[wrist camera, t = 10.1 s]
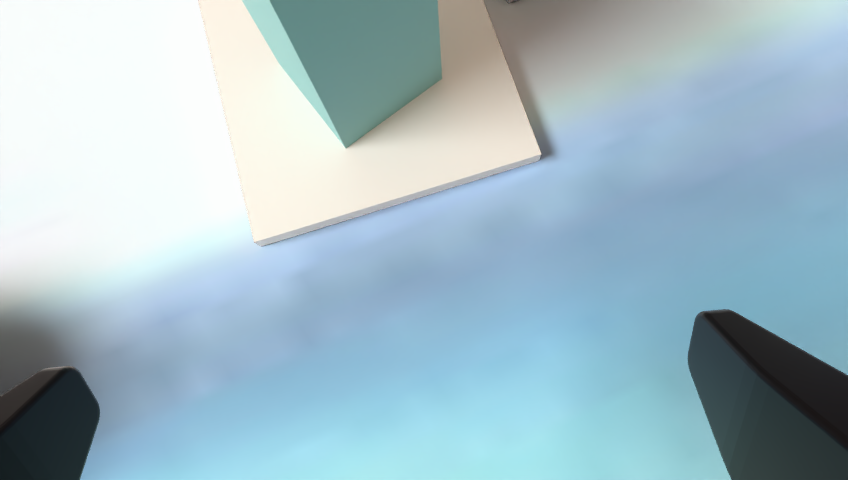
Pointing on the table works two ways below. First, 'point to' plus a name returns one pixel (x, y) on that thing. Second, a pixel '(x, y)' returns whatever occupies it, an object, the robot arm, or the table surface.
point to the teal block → (354, 55)
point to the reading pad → (378, 149)
